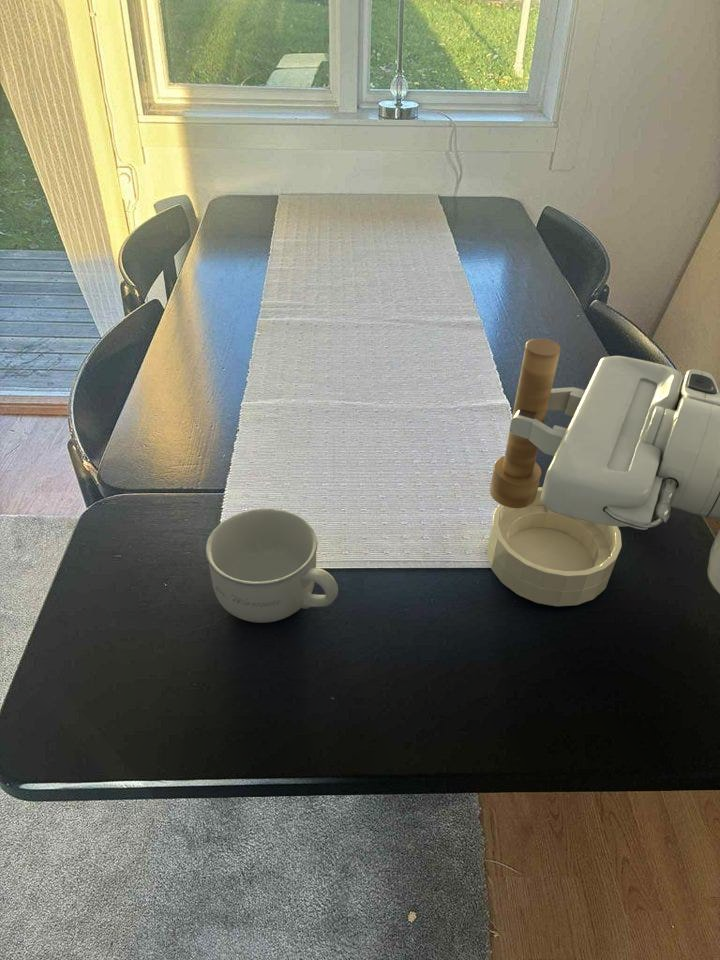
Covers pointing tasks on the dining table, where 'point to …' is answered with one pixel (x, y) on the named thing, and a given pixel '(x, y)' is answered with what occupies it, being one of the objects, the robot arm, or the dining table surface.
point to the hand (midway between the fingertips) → (520, 408)
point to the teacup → (266, 566)
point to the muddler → (518, 467)
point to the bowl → (551, 554)
